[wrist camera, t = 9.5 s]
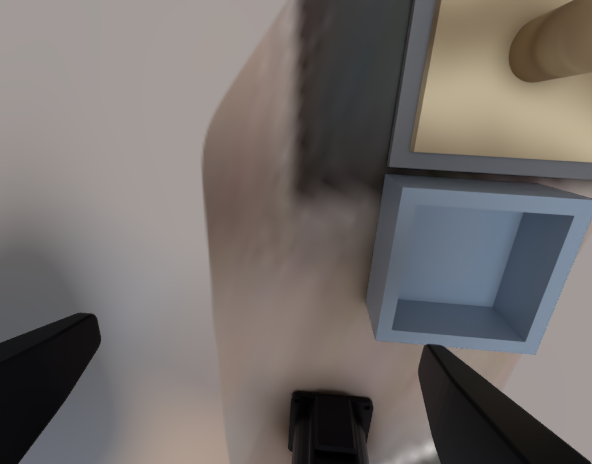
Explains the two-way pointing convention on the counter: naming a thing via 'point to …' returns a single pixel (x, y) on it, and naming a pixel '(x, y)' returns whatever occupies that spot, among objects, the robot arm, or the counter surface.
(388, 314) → the dish
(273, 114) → the counter surface
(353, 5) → the counter surface
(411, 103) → the mat
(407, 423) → the counter surface
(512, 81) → the lid
